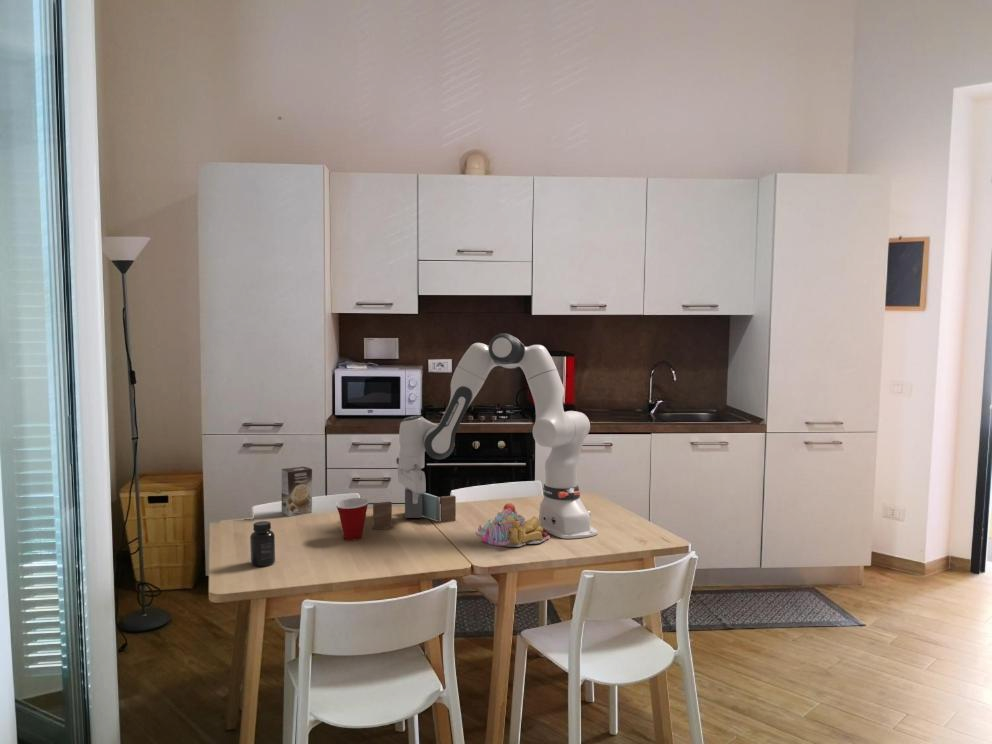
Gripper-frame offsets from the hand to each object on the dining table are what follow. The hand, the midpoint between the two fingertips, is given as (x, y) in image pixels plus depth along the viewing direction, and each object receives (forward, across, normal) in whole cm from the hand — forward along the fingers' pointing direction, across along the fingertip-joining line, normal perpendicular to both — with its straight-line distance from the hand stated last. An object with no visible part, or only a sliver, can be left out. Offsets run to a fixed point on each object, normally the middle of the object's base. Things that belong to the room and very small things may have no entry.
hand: (411, 501), depth 282 cm
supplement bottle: (+7, -29, +55) cm, 63 cm away
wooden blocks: (+6, -8, +1) cm, 10 cm away
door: (+6, 0, -5) cm, 8 cm away
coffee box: (+6, +23, +36) cm, 43 cm away
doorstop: (+5, 0, -1) cm, 5 cm away
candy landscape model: (+7, -32, -23) cm, 40 cm away
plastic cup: (+7, -14, +25) cm, 29 cm away
